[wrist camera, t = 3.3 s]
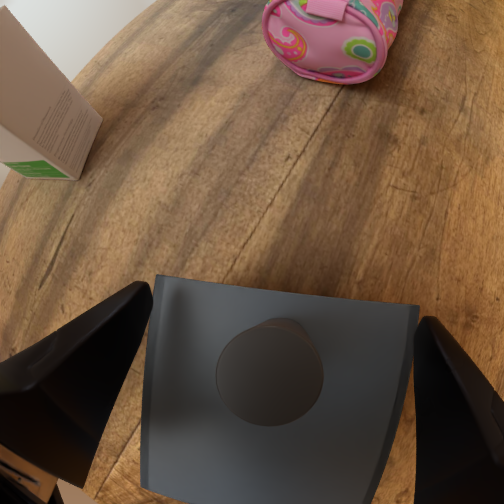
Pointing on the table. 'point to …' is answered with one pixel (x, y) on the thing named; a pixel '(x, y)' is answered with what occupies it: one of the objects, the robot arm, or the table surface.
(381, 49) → the pencil case
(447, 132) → the table surface
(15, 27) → the cosmetic box
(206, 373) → the grey box with peg
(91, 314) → the robot arm
